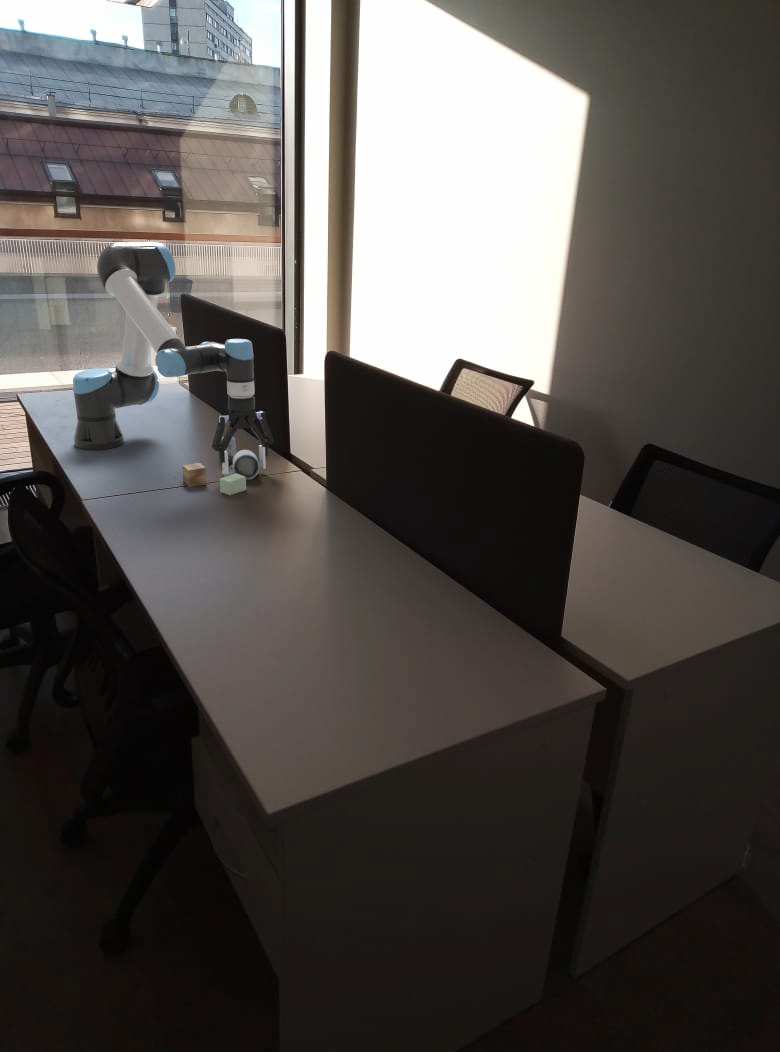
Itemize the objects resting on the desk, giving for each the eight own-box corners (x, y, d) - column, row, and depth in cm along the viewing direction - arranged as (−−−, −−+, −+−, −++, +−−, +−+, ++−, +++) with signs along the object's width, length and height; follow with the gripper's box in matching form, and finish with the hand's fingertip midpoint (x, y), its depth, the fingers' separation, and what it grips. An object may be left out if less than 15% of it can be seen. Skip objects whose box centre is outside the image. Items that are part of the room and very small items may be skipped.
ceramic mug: (257, 470, 231) (256, 446, 228) (260, 479, 223) (259, 454, 220) (221, 472, 228) (220, 448, 225) (223, 482, 221) (221, 456, 218)
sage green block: (230, 495, 210) (229, 482, 208) (220, 492, 212) (219, 478, 211) (246, 490, 214) (245, 476, 213) (236, 486, 217) (235, 473, 215)
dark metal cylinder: (223, 463, 234) (222, 441, 232) (217, 459, 238) (216, 437, 236) (238, 461, 237) (237, 439, 234) (232, 457, 241) (231, 435, 238)
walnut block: (189, 487, 215) (188, 470, 213) (183, 481, 219) (182, 465, 217) (206, 484, 217) (205, 467, 215) (200, 479, 221) (199, 462, 219)
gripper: (206, 402, 207) (210, 479, 215) (284, 394, 219) (286, 468, 227) (196, 396, 213) (201, 472, 221) (273, 389, 225) (275, 461, 233)
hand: (244, 470), depth 224 cm, fingers open, 11 cm apart
